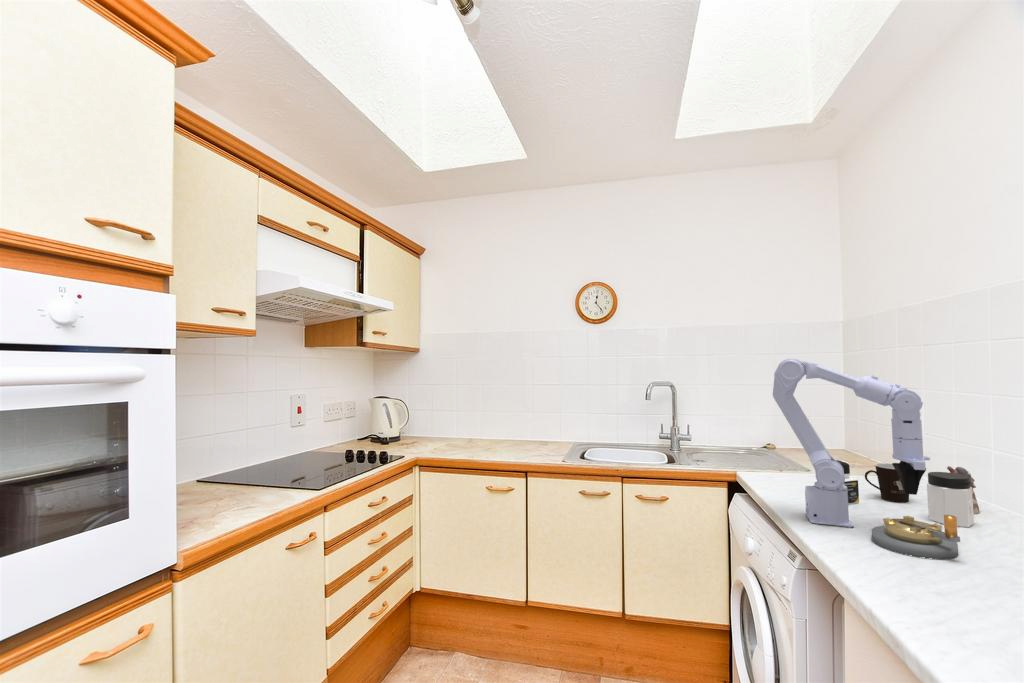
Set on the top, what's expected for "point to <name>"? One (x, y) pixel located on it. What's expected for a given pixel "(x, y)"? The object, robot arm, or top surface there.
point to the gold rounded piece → (921, 530)
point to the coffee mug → (889, 483)
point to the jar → (950, 498)
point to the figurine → (964, 472)
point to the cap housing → (914, 546)
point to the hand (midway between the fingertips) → (910, 493)
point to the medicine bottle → (850, 484)
